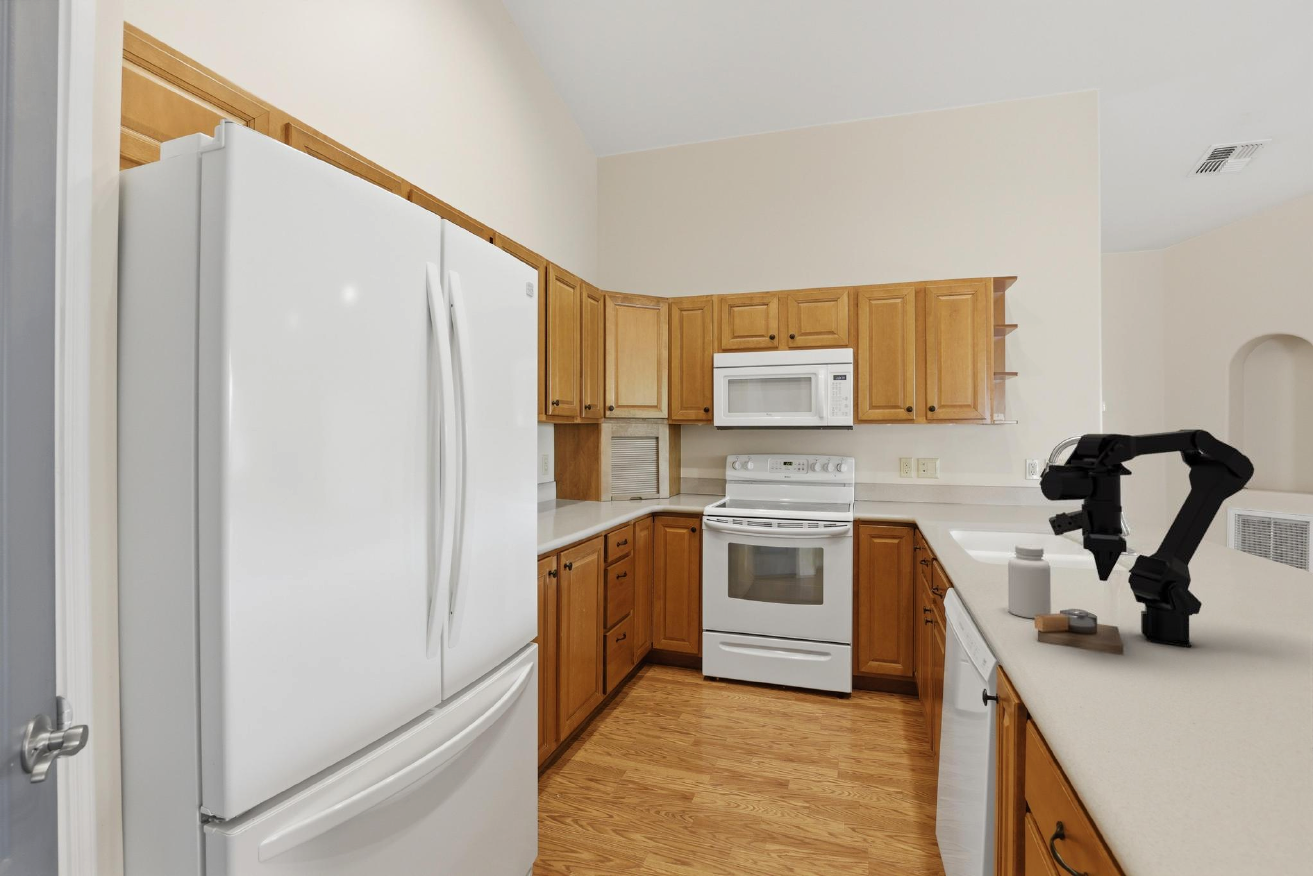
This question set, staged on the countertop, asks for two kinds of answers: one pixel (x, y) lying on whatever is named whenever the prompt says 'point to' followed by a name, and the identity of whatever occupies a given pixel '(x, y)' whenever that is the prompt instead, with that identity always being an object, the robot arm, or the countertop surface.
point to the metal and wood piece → (1068, 621)
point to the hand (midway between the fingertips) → (1103, 580)
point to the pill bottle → (1029, 582)
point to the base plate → (1086, 639)
